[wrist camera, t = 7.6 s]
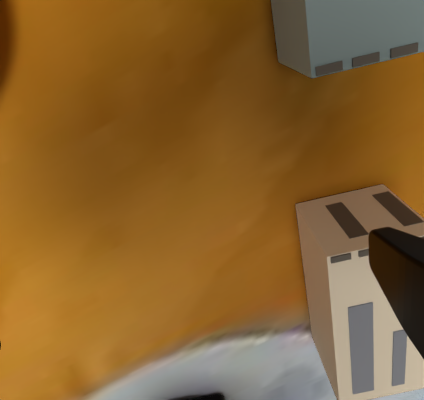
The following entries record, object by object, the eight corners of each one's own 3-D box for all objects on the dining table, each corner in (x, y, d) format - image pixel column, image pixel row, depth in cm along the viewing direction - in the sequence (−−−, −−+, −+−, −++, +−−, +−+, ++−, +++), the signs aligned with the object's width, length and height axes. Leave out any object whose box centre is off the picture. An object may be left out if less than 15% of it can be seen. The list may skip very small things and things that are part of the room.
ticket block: (382, 322, 25) (425, 389, 21) (311, 337, 25) (340, 406, 21) (382, 183, 20) (441, 232, 16) (295, 203, 20) (327, 257, 16)
